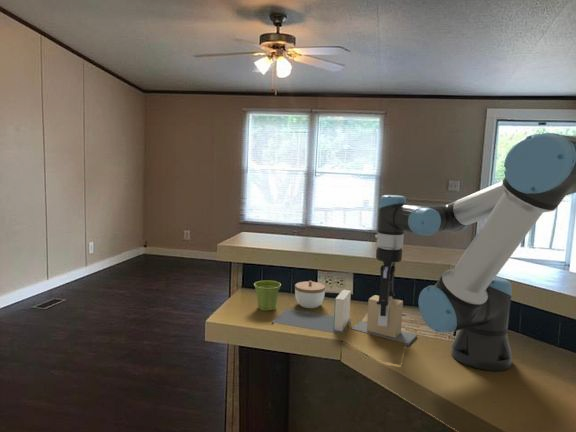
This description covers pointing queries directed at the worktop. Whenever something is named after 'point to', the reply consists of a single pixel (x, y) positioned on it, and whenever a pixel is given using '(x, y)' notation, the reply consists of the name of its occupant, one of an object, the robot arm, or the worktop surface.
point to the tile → (342, 310)
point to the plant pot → (267, 294)
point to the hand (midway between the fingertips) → (384, 320)
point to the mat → (308, 320)
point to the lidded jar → (309, 294)
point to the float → (393, 324)
